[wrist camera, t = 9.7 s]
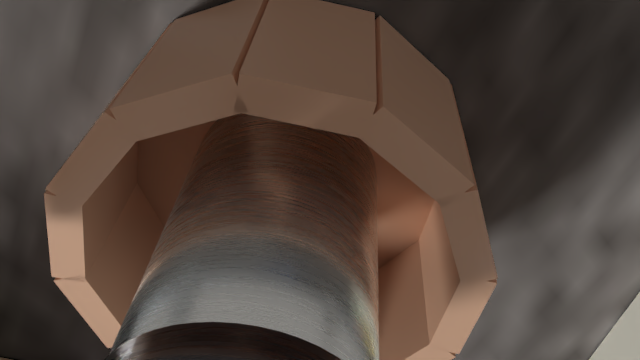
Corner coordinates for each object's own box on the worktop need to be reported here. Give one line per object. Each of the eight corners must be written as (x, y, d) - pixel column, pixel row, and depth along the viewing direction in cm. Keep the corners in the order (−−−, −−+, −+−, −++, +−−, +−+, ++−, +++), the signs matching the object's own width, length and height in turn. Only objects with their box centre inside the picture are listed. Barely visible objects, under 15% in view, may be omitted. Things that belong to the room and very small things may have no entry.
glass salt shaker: (354, 261, 14) (342, 663, 8) (188, 228, 14) (38, 615, 7) (401, 118, 11) (436, 530, 5) (202, 75, 11) (4, 455, 5)
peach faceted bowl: (406, 310, 15) (414, 435, 13) (118, 254, 15) (60, 371, 12) (519, 45, 11) (572, 144, 8) (120, -46, 11) (29, 27, 8)
